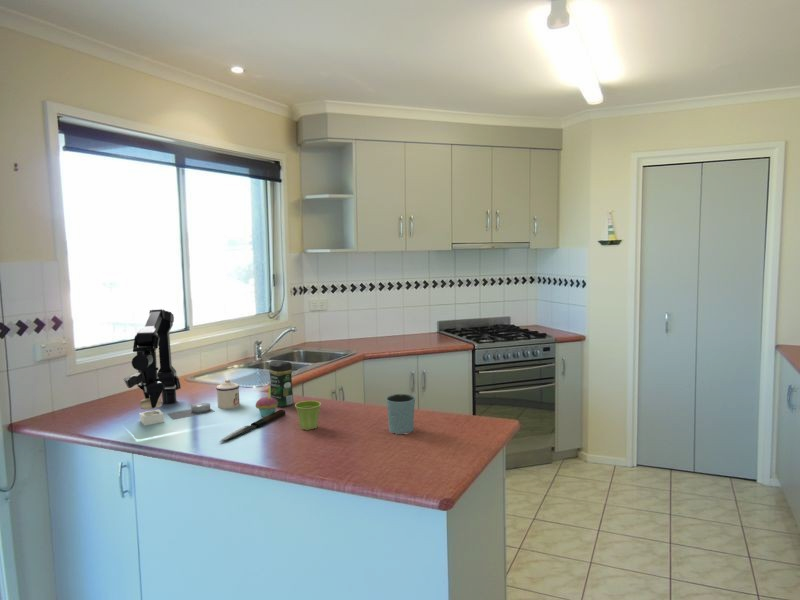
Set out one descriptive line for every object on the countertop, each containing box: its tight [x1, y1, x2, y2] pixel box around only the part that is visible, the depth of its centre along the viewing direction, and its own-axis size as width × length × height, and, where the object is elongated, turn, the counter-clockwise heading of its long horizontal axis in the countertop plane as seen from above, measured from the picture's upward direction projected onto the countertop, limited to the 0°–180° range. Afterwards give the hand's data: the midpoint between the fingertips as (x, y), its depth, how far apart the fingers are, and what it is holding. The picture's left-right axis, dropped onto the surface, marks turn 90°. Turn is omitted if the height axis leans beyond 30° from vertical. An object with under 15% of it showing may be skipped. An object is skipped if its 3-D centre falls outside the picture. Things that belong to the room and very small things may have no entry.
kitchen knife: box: [219, 409, 286, 443], centre depth 203 cm, size 36×2×5 cm
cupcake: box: [255, 387, 279, 418], centre depth 218 cm, size 9×8×12 cm
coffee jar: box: [268, 359, 294, 408], centre depth 232 cm, size 10×8×19 cm
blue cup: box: [385, 393, 416, 435], centre depth 195 cm, size 10×10×12 cm
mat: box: [166, 407, 215, 421], centre depth 221 cm, size 10×16×1 cm, turn 127°
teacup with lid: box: [216, 378, 241, 410], centre depth 231 cm, size 12×9×12 cm
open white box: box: [138, 408, 165, 427], centre depth 211 cm, size 7×7×4 cm
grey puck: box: [190, 402, 211, 413], centre depth 224 cm, size 7×7×2 cm
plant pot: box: [294, 400, 322, 431], centre depth 201 cm, size 9×9×9 cm
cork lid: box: [139, 397, 162, 410], centre depth 210 cm, size 7×7×3 cm
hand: (151, 405), depth 210 cm, fingers closed on cork lid, 7 cm apart
